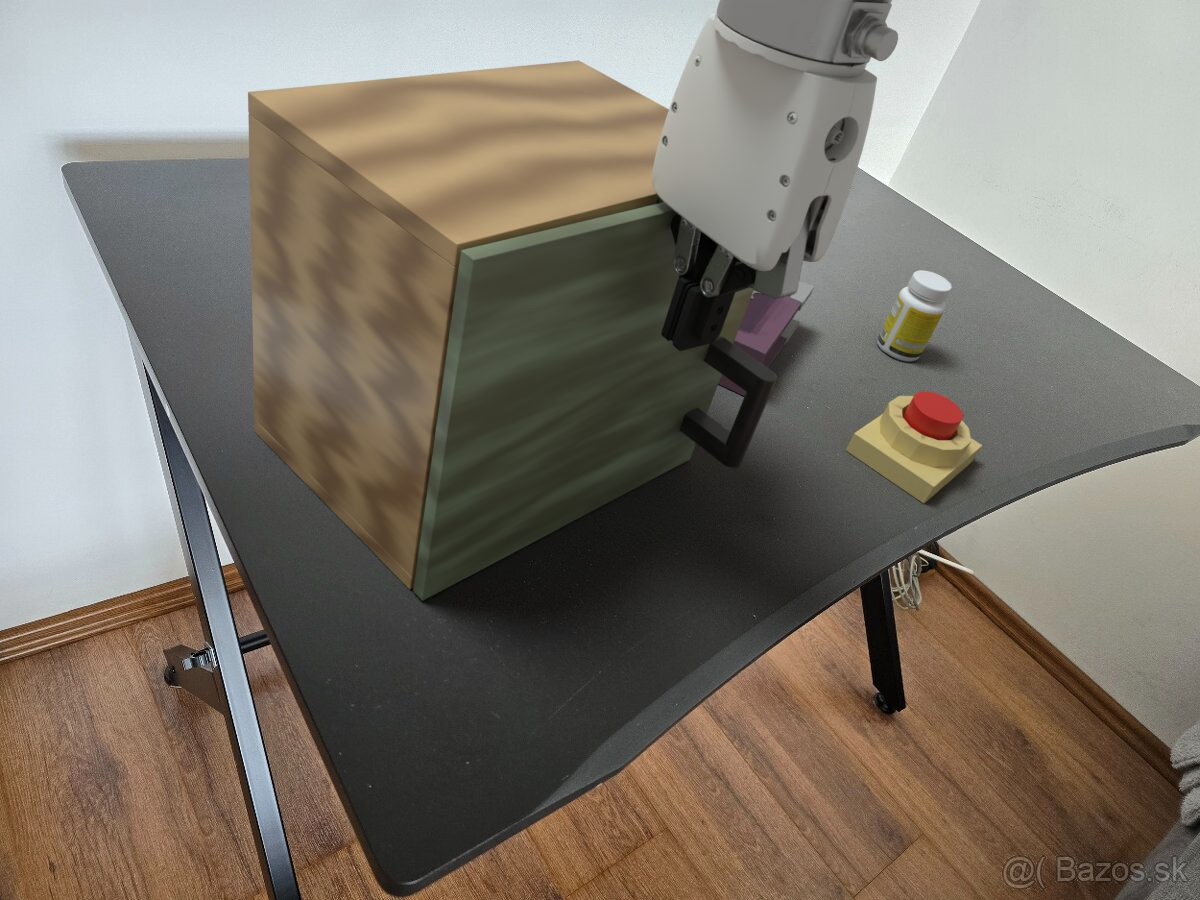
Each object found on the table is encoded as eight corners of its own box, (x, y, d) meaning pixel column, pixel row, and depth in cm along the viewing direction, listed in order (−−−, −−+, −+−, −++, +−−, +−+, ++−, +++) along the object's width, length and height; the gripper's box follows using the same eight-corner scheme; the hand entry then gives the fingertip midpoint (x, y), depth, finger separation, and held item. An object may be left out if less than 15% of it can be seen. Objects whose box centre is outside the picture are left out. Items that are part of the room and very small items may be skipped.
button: (917, 403, 82) (927, 385, 80) (960, 430, 80) (971, 412, 78) (894, 419, 79) (904, 400, 77) (938, 448, 77) (949, 429, 76)
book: (796, 328, 95) (814, 286, 92) (748, 398, 83) (766, 353, 80) (583, 234, 100) (593, 192, 97) (509, 287, 88) (517, 241, 85)
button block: (897, 413, 86) (916, 380, 84) (972, 461, 83) (993, 428, 80) (845, 450, 80) (863, 414, 77) (923, 504, 76) (945, 468, 74)
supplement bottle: (928, 359, 96) (965, 290, 91) (898, 365, 94) (935, 295, 88) (896, 334, 99) (930, 265, 94) (866, 339, 96) (900, 269, 91)
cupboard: (670, 446, 75) (771, 164, 60) (409, 590, 57) (457, 244, 42) (523, 334, 82) (578, 59, 67) (254, 431, 65) (247, 91, 50)
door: (739, 498, 71) (862, 218, 56) (475, 658, 54) (550, 318, 39) (681, 452, 74) (783, 173, 59) (412, 591, 57) (460, 249, 42)
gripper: (971, 77, 41) (818, 400, 52) (747, -35, 49) (657, 267, 60) (868, 80, 36) (726, 431, 48) (640, -44, 44) (565, 283, 56)
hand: (688, 339), depth 54 cm, fingers closed
